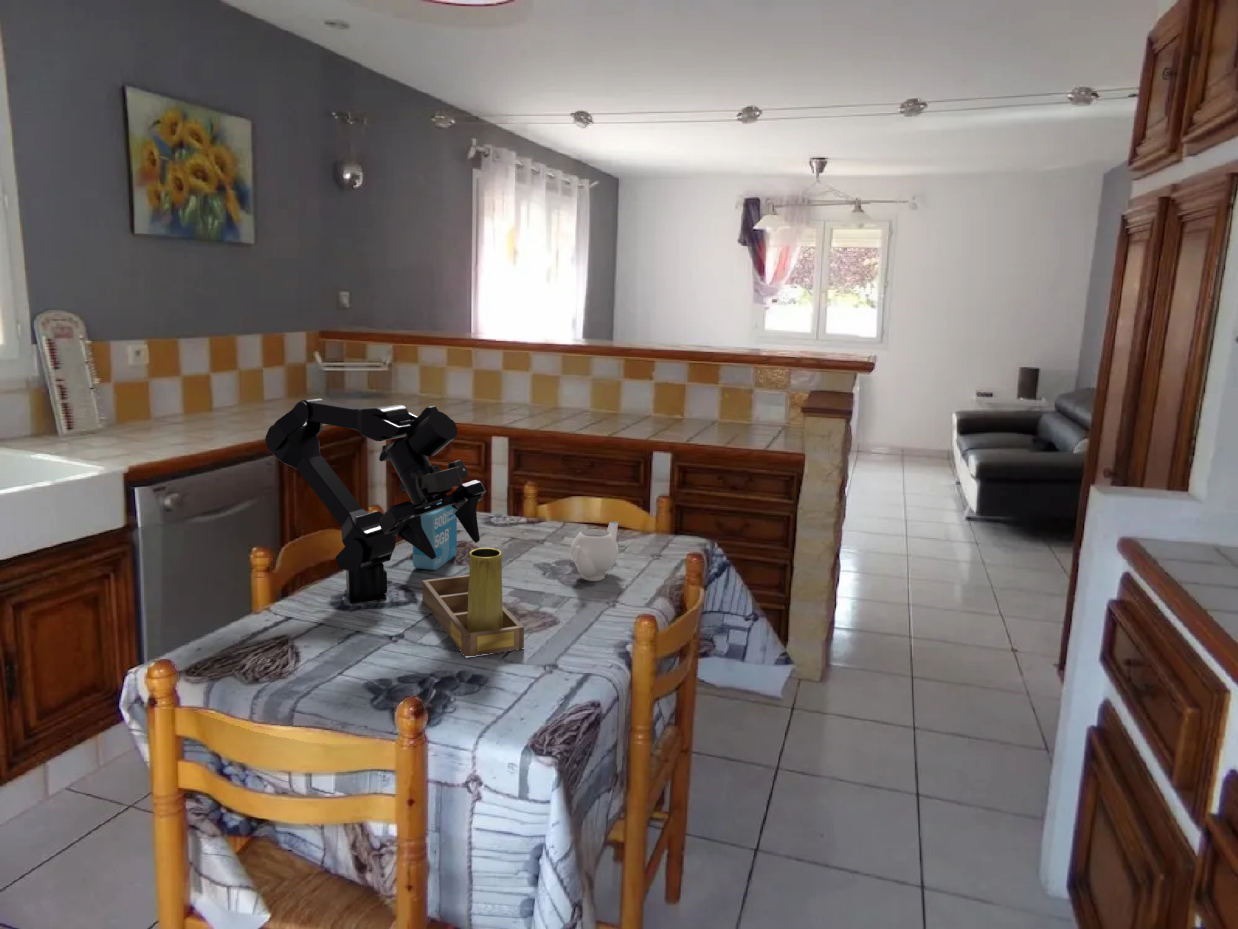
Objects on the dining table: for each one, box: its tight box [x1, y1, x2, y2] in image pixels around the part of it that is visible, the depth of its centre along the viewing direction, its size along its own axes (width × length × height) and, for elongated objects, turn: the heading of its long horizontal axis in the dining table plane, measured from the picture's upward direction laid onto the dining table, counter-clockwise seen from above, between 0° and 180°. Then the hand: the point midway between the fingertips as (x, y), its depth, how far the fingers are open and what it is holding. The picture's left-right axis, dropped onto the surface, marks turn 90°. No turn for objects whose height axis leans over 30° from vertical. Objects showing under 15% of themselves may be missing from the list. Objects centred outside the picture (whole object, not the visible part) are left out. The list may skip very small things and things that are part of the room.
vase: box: [467, 547, 503, 633], centre depth 139 cm, size 6×6×14 cm
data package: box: [412, 502, 458, 571], centre depth 178 cm, size 12×4×12 cm, turn 167°
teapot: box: [570, 521, 619, 582], centre depth 173 cm, size 10×20×9 cm, turn 156°
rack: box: [421, 574, 525, 657], centre depth 148 cm, size 10×27×4 cm, turn 27°
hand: (456, 549), depth 145 cm, fingers open, 9 cm apart
